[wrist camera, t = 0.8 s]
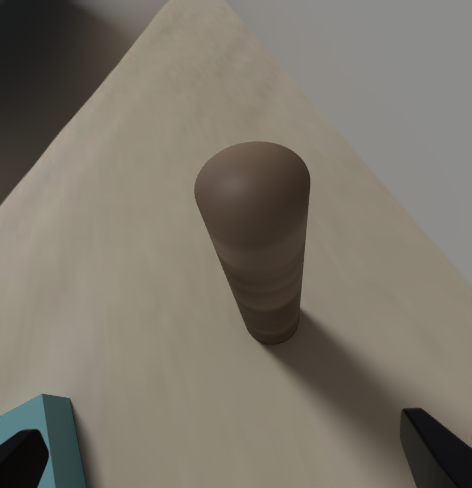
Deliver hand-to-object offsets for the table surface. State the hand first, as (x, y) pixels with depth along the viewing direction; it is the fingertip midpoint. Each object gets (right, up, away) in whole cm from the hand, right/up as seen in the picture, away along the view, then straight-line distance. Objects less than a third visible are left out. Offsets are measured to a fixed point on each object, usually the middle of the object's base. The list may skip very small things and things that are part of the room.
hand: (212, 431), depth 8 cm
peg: (+3, -1, +16) cm, 16 cm away
